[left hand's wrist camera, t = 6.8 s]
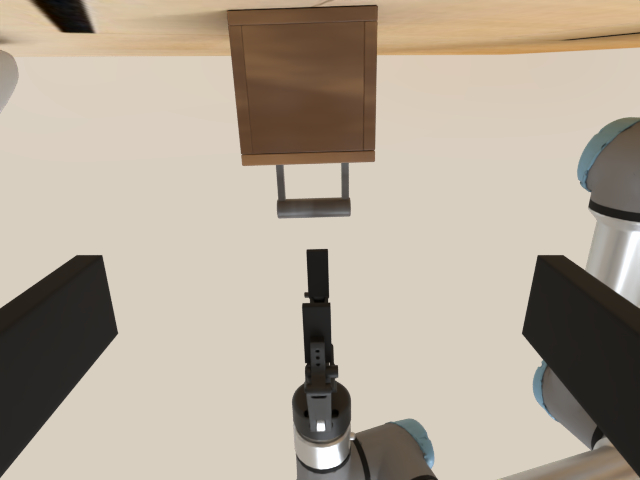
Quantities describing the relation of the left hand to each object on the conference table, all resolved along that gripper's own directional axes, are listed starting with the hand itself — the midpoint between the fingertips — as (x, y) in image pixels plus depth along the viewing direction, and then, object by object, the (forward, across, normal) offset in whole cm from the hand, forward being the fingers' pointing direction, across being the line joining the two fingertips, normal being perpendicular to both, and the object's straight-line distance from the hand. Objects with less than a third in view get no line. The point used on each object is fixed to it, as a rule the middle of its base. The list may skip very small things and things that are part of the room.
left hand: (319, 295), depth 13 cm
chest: (+25, +1, -11) cm, 27 cm away
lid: (+26, +1, -2) cm, 26 cm away
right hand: (+30, 0, +14) cm, 33 cm away
